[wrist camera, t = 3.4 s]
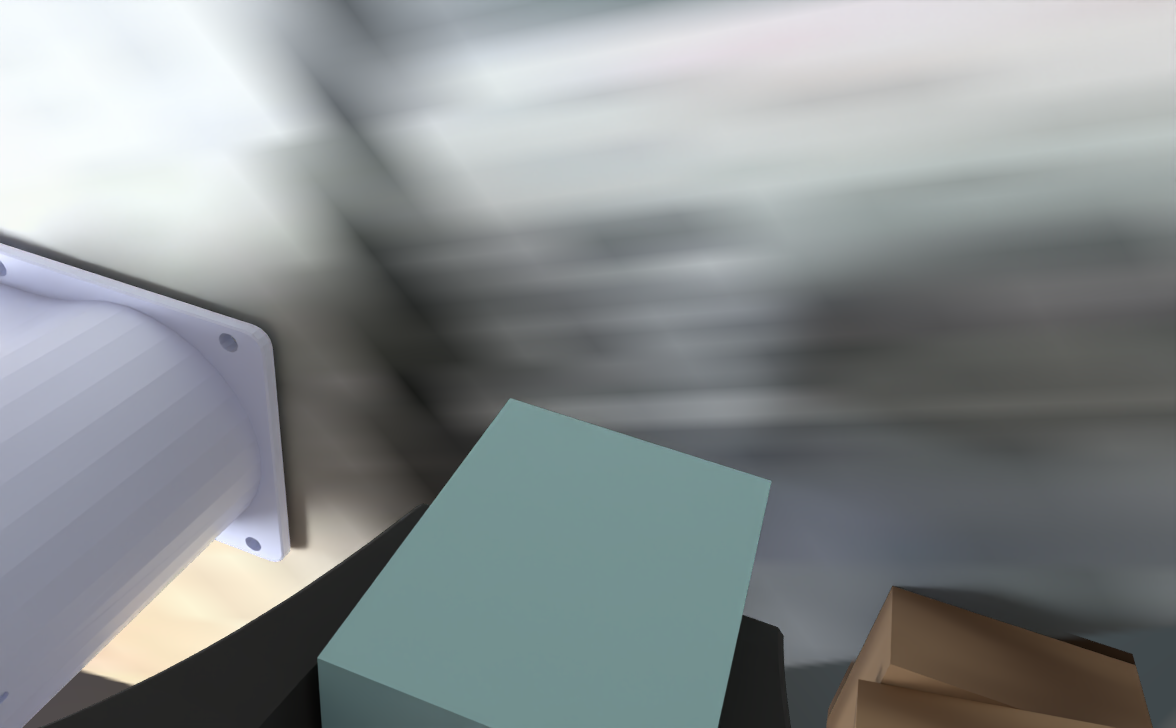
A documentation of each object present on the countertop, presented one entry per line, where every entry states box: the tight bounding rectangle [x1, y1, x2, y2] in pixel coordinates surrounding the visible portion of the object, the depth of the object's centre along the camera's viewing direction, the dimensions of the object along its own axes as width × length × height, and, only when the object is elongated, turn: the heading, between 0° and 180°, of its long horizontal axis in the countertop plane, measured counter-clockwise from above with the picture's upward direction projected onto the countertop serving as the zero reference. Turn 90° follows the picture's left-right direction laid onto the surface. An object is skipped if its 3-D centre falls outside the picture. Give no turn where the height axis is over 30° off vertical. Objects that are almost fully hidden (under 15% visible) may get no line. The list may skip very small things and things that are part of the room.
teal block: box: [317, 398, 772, 728], centre depth 11 cm, size 4×4×5 cm
